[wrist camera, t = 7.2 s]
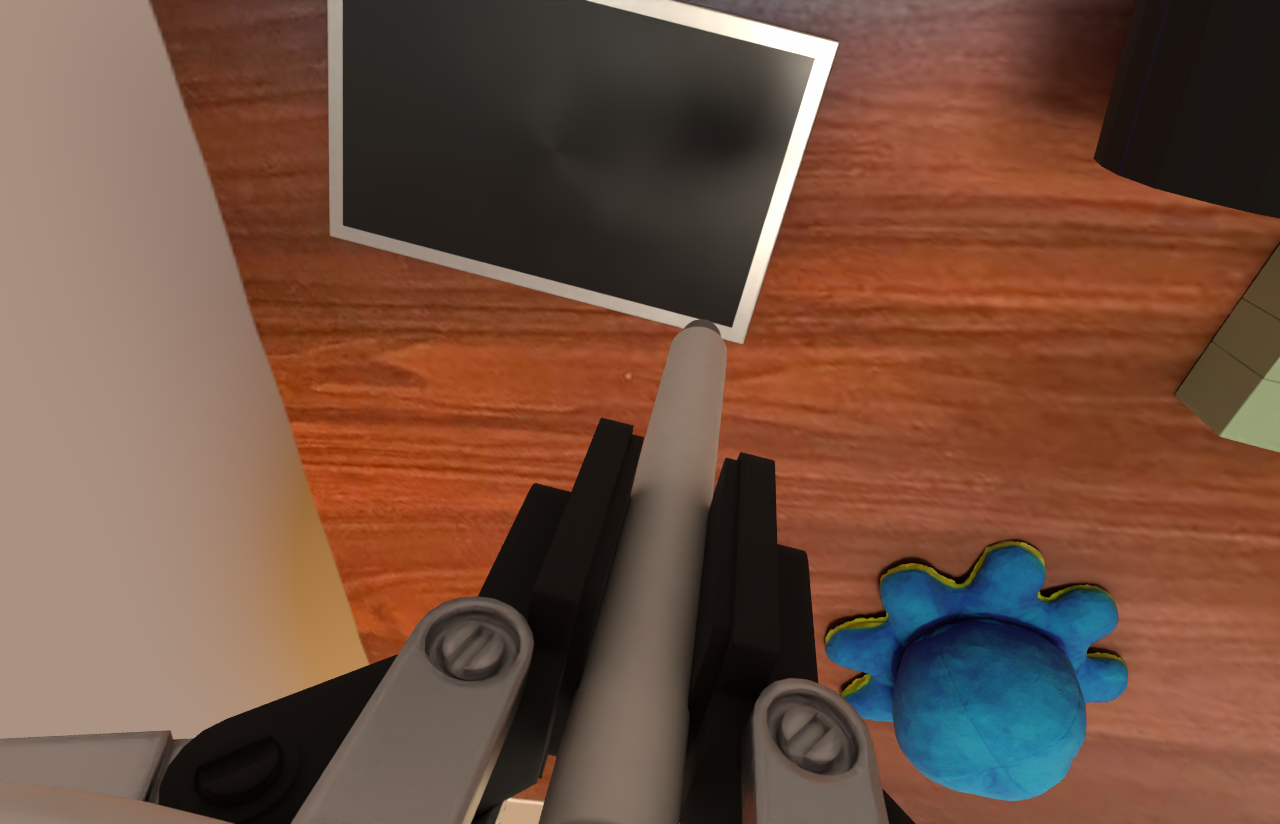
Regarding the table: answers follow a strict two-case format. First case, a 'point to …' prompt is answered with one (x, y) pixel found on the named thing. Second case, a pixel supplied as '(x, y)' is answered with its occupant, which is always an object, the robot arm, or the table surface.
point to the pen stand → (1243, 368)
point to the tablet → (574, 145)
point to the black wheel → (1199, 102)
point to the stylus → (648, 612)
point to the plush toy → (983, 671)
